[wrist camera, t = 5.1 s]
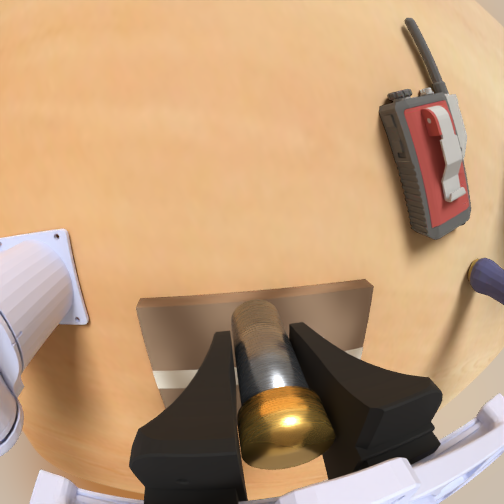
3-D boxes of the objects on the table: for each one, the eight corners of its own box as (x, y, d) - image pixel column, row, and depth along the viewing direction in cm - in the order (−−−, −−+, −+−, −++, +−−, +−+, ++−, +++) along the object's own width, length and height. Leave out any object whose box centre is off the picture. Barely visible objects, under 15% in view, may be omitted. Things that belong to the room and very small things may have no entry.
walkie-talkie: (466, 212, 22) (407, 22, 16) (497, 222, 18) (435, 8, 12) (410, 246, 22) (333, 26, 16) (441, 262, 18) (358, 3, 12)
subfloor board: (173, 416, 24) (172, 428, 23) (140, 298, 20) (135, 308, 18) (342, 395, 26) (348, 405, 25) (364, 279, 22) (374, 287, 20)
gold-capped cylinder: (229, 345, 14) (245, 474, 7) (224, 298, 13) (237, 432, 6) (283, 339, 14) (328, 458, 7) (283, 292, 13) (342, 413, 6)
